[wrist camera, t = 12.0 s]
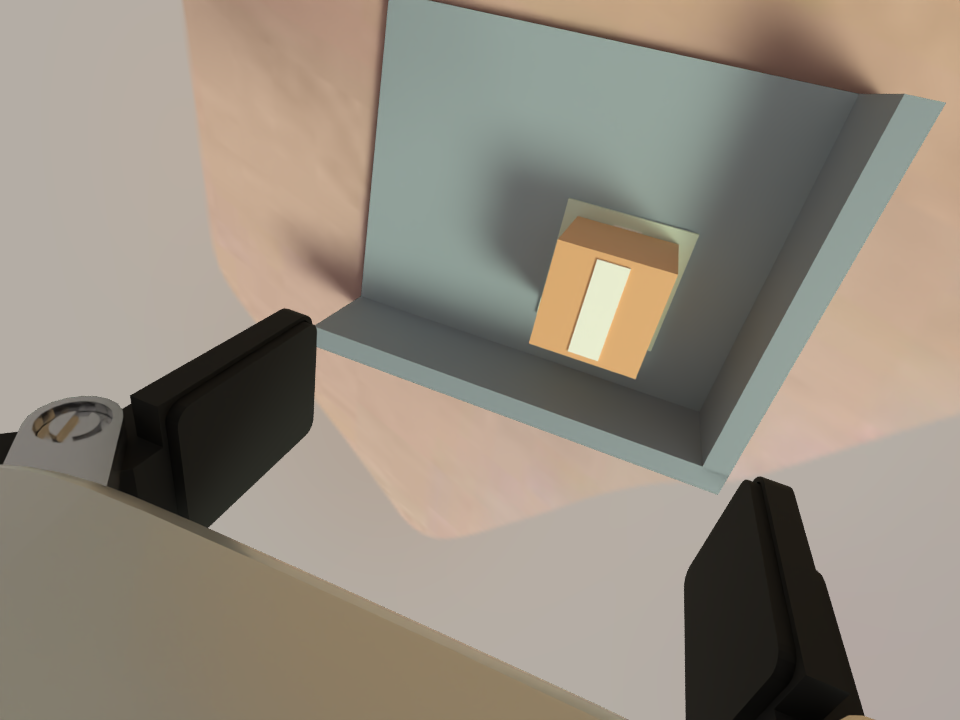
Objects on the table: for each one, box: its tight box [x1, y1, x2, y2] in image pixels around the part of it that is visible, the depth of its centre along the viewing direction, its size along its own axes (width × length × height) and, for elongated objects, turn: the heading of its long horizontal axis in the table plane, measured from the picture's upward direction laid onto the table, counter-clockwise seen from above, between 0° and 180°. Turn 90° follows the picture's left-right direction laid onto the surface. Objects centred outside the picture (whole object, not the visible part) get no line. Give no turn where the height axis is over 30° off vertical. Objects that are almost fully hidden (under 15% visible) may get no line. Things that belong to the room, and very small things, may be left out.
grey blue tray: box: [315, 0, 946, 495], centre depth 25 cm, size 22×17×6 cm
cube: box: [529, 216, 679, 379], centre depth 25 cm, size 5×5×5 cm
